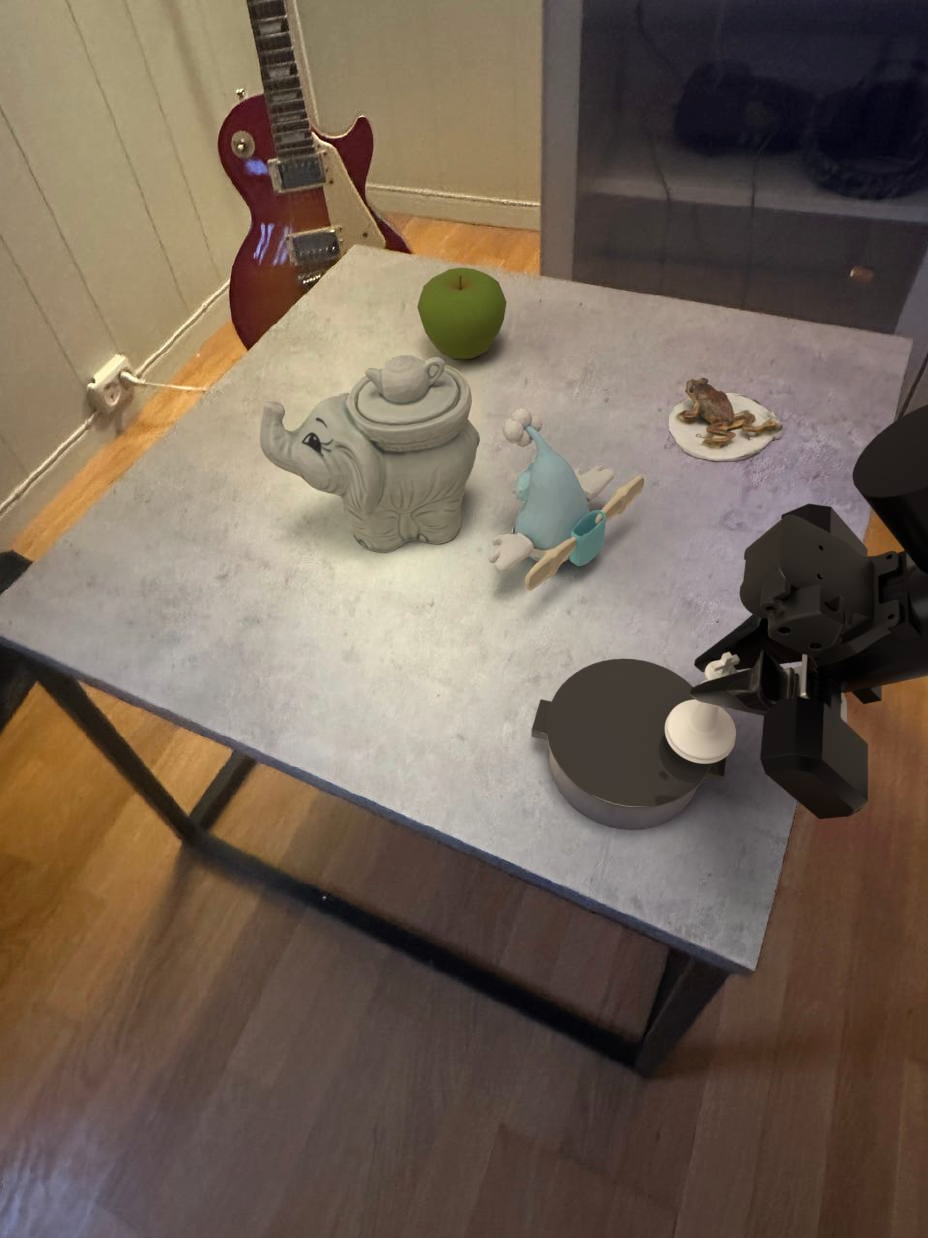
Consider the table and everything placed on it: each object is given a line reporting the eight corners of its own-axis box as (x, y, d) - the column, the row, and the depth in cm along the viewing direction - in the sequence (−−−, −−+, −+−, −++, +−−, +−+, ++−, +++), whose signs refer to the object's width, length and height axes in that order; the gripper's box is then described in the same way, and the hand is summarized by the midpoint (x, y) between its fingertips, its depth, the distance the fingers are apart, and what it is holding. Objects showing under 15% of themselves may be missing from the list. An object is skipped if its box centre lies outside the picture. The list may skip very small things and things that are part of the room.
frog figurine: (642, 425, 85) (646, 397, 82) (716, 380, 89) (722, 351, 85) (722, 478, 79) (730, 450, 76) (797, 427, 83) (807, 398, 80)
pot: (725, 712, 63) (738, 680, 59) (707, 856, 56) (721, 831, 52) (552, 674, 66) (554, 641, 62) (515, 806, 59) (515, 779, 55)
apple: (418, 333, 98) (408, 259, 91) (497, 320, 99) (494, 245, 91) (430, 383, 92) (421, 308, 84) (515, 369, 93) (513, 292, 85)
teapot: (289, 539, 78) (231, 386, 63) (372, 451, 85) (338, 295, 70) (422, 598, 72) (394, 444, 57) (499, 498, 79) (492, 338, 64)
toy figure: (562, 480, 80) (568, 357, 68) (643, 526, 76) (665, 403, 64) (452, 571, 74) (438, 453, 62) (533, 628, 69) (535, 513, 57)
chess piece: (748, 750, 53) (786, 675, 45) (685, 773, 53) (712, 700, 45) (713, 694, 56) (742, 614, 48) (652, 715, 56) (672, 637, 48)
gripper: (873, 389, 40) (641, 505, 52) (876, 678, 30) (584, 743, 41) (970, 518, 45) (736, 598, 56) (1001, 808, 34) (707, 834, 46)
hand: (695, 680), depth 50 cm, fingers closed on chess piece
